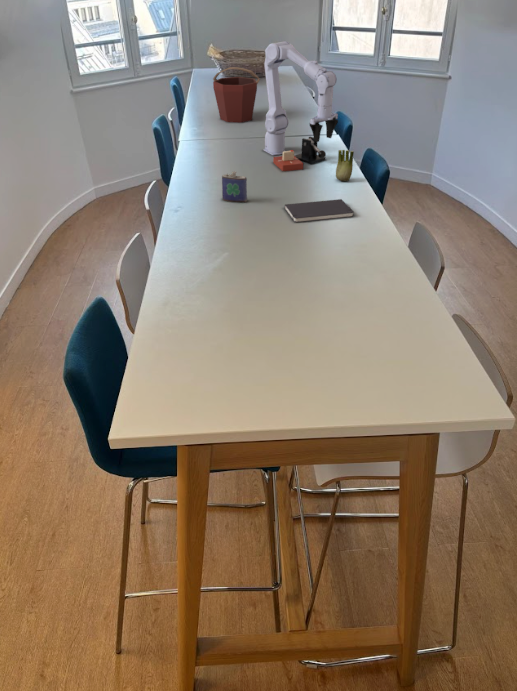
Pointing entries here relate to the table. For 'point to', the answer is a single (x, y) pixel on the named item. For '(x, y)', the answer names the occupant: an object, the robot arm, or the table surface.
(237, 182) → the flask
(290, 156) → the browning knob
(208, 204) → the table surface
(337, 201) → the notebook
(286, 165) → the dial panel
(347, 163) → the fennel bulb
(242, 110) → the bucket
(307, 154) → the black lever mount
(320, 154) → the lever
